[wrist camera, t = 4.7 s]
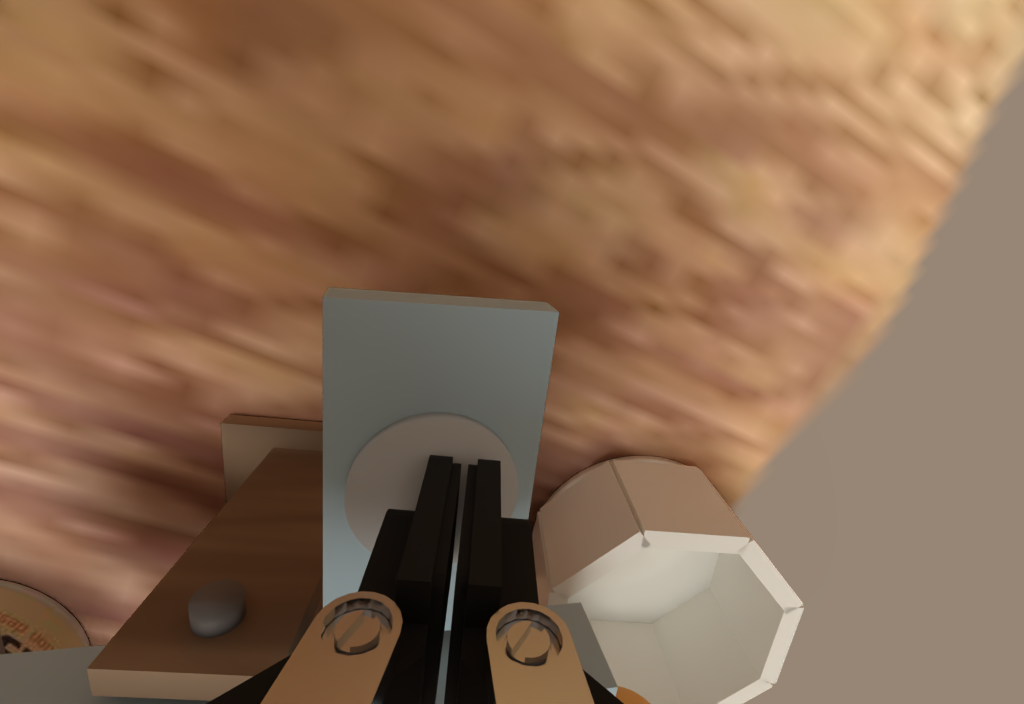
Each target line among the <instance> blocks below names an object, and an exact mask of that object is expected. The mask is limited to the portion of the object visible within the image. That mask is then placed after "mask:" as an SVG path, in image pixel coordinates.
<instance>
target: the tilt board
mask: <svg viewBox="0 0 1024 704" xmlns="http://www.w3.org/2000/svg"><path fill="white" fill-rule="evenodd" d="M558 317H559V312H558V311H557V310H556V309H555V308H553V307H552V306H551V305H550V304H548V303H547V302H539V301H524V300H510V299H495V298H480V297H466V296H451V295H437V294H422V293H408V292H393V291H378V290H364V289H349V288H335V287H329V288H328V289H327V291H326V293H325V294H324V296H323V608H324V606H326V605H327V604H329V603H330V602H332V601H333V600H335V599H336V598H339V597H341V596H344V595H346V594H349V593H355V592H358V589H359V587H360V584H361V581H362V578H363V576H364V573H365V570H366V567H367V564H368V562H369V559H370V556H371V553H372V550H373V548H374V545H375V542H376V539H377V536H378V534H379V531H380V528H381V525H382V522H383V520H384V517H385V514H386V512H387V510H388V509H400V510H412V511H415V509H416V505H417V501H418V498H419V494H420V490H421V486H422V483H423V479H424V475H425V471H426V468H427V464H428V460H429V457H430V455H438V456H450V457H453V463H460V464H461V476H460V487H459V498H458V509H457V520H456V531H455V542H454V553H453V564H452V573H451V581H450V589H449V597H448V605H447V613H446V622H445V630H444V638H443V646H442V654H441V662H440V670H439V678H438V686H437V694H436V702H435V704H444V697H445V686H446V676H447V665H448V654H449V643H450V633H451V622H452V611H453V600H454V590H455V580H456V571H457V562H458V553H459V544H460V535H461V526H462V517H463V508H464V499H465V490H466V481H467V472H468V464H472V465H477V463H478V459H486V460H498V461H501V517H503V518H516V519H528V518H529V511H530V504H531V498H532V491H533V484H534V478H535V471H536V464H537V458H538V451H539V444H540V437H541V431H542V424H543V417H544V411H545V404H546V397H547V391H548V384H549V377H550V370H551V364H552V357H553V350H554V344H555V337H556V330H557V324H558ZM544 607H546V608H548V609H550V610H551V611H553V612H555V613H556V614H557V615H558V616H559V617H560V618H561V619H562V620H563V621H564V622H565V624H566V626H567V628H568V629H569V631H570V633H571V636H572V639H573V642H574V645H575V648H576V651H577V654H578V657H579V660H580V663H581V666H582V669H583V670H585V671H586V672H587V673H588V674H589V675H590V676H592V677H593V678H594V679H595V680H596V681H598V682H599V683H600V684H601V685H602V686H604V687H605V688H606V689H607V690H608V691H609V692H611V693H612V694H613V695H614V696H615V697H616V693H617V689H618V686H617V684H616V681H615V679H614V677H613V675H612V672H611V670H610V668H609V665H608V663H607V661H606V659H605V656H604V654H603V652H602V650H601V647H600V645H599V643H598V640H597V638H596V636H595V634H594V631H593V629H592V627H591V624H590V622H589V620H588V618H587V615H586V613H585V611H584V609H583V606H582V604H581V603H570V604H558V605H547V606H544ZM105 646H106V645H100V646H89V647H78V648H67V649H55V650H44V651H33V652H22V653H11V654H6V653H5V649H4V645H3V641H2V637H1V633H0V704H206V703H208V702H210V701H205V700H181V699H157V698H132V697H108V696H92V694H91V688H90V683H89V678H88V673H87V668H88V667H89V665H90V664H91V663H92V662H93V661H94V659H95V658H96V657H97V656H98V655H99V653H100V652H101V651H102V650H103V649H104V648H105Z"/></svg>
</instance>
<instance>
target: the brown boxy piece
mask: <svg viewBox="0 0 1024 704" xmlns="http://www.w3.org/2000/svg"><path fill="white" fill-rule="evenodd" d="M221 436H222V450H223V464H224V479H225V493H226V504H225V505H224V507H223V508H222V509H221V510H220V511H219V513H218V514H217V515H216V516H215V517H214V518H213V520H212V521H211V522H210V523H209V524H208V526H207V527H206V528H205V529H204V530H203V532H202V533H201V534H200V535H199V536H198V537H197V539H196V540H195V541H194V542H193V543H192V545H191V546H190V547H189V548H188V549H187V550H186V552H185V553H184V554H183V555H182V556H181V558H180V559H179V560H178V561H177V562H176V563H175V565H174V566H173V567H172V568H171V569H170V571H169V572H168V573H167V574H166V575H165V577H164V578H163V579H162V580H161V581H160V582H159V584H158V585H157V586H156V587H155V588H154V590H153V591H152V592H151V593H150V594H149V595H148V597H147V598H146V599H145V600H144V601H143V603H142V604H141V605H140V606H139V607H138V608H137V610H136V611H135V612H134V613H133V614H132V616H131V617H130V618H129V619H128V620H127V622H126V623H125V624H124V625H123V626H122V627H121V629H120V630H119V631H118V632H117V633H116V635H115V636H114V637H113V638H112V639H111V640H110V642H109V643H108V644H107V645H106V646H105V648H104V649H103V650H102V651H101V652H100V653H99V655H98V656H97V657H96V658H95V659H94V661H93V662H92V663H91V664H90V665H89V667H88V668H87V673H88V678H89V683H90V688H91V694H92V696H108V697H132V698H157V699H181V700H205V701H212V700H213V699H215V698H217V697H218V696H220V695H222V694H224V693H225V692H227V691H229V690H231V689H232V688H234V687H236V686H237V685H239V684H241V683H243V682H244V681H246V680H248V679H250V678H251V677H253V676H255V675H256V674H258V673H260V672H262V671H263V670H265V669H267V668H269V667H270V666H272V665H274V664H276V663H277V662H279V661H281V660H282V659H284V658H286V657H288V656H289V655H291V654H292V653H293V652H294V650H295V648H296V647H297V645H298V644H299V642H300V641H301V639H302V637H303V636H304V634H305V633H306V631H307V630H308V628H309V626H310V625H311V623H312V622H313V620H314V619H315V617H316V616H317V615H318V613H319V612H320V611H321V610H322V609H323V422H315V421H303V420H291V419H279V418H268V417H256V416H244V415H232V414H231V415H229V416H228V417H227V418H226V419H225V420H224V421H222V422H221Z"/></svg>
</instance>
